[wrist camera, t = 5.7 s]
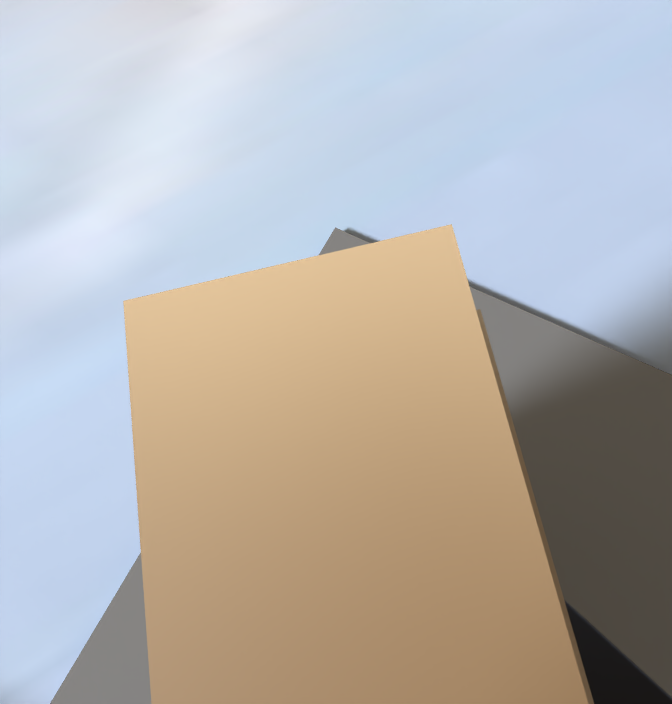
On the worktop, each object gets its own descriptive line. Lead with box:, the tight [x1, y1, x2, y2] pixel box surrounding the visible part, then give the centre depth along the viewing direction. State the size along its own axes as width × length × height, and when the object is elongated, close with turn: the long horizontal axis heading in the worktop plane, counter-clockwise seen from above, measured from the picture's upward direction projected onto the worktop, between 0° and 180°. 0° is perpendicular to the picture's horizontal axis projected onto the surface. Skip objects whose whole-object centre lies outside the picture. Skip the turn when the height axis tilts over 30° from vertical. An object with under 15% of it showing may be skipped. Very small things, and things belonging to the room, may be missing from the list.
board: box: [124, 224, 594, 704], centre depth 9 cm, size 6×2×13 cm, turn 11°
